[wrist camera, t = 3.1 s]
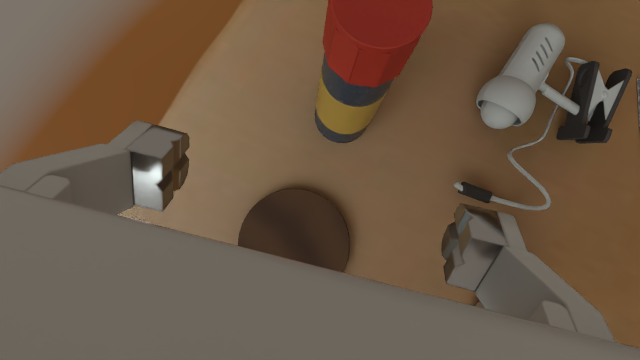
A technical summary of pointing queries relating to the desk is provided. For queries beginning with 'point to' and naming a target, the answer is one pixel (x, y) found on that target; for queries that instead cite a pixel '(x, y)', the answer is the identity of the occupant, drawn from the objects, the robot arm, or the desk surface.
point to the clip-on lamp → (529, 76)
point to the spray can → (345, 106)
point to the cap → (373, 37)
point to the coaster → (297, 229)
